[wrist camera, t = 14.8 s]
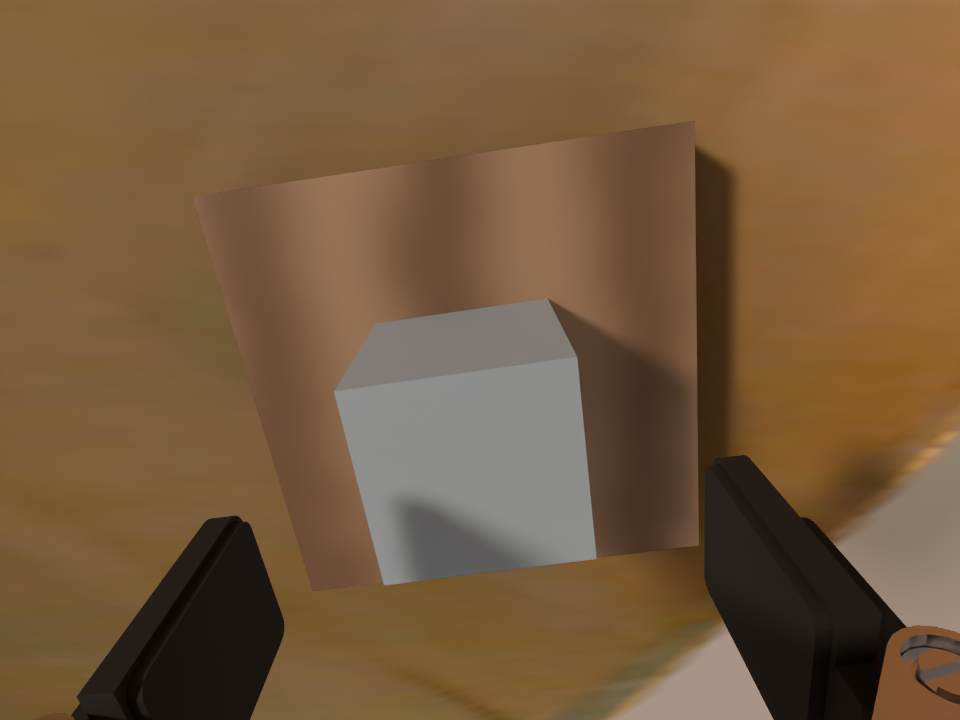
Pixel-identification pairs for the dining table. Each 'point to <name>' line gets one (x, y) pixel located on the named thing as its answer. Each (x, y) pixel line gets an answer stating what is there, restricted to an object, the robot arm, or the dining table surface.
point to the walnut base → (472, 285)
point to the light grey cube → (469, 443)
